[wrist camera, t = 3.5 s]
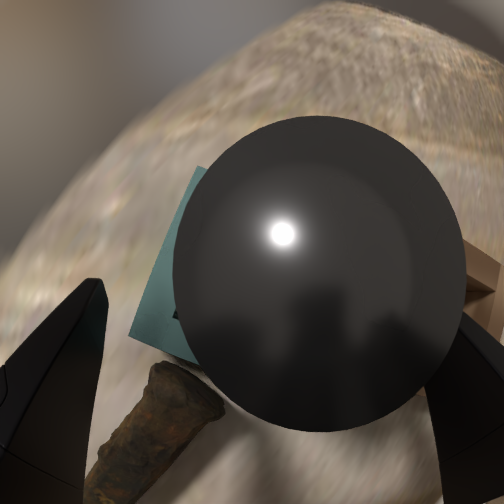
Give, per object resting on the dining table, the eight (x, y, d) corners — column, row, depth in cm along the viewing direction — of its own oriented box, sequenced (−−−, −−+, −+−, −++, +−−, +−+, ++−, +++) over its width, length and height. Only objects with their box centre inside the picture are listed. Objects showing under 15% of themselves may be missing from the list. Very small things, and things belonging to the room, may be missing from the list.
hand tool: (167, 347, 16) (151, 368, 11) (227, 392, 16) (232, 427, 11) (36, 511, 13) (12, 542, 8) (79, 542, 13) (62, 576, 8)
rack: (450, 395, 17) (477, 406, 14) (350, 371, 17) (374, 384, 14) (485, 276, 19) (514, 273, 16) (396, 226, 18) (425, 216, 15)
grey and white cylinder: (264, 333, 16) (411, 448, 3) (191, 306, 16) (122, 372, 3) (290, 262, 17) (482, 195, 4) (220, 234, 17) (251, 72, 4)
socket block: (285, 379, 16) (300, 397, 13) (142, 327, 16) (128, 335, 13) (335, 242, 17) (359, 233, 14) (199, 185, 17) (197, 165, 14)
